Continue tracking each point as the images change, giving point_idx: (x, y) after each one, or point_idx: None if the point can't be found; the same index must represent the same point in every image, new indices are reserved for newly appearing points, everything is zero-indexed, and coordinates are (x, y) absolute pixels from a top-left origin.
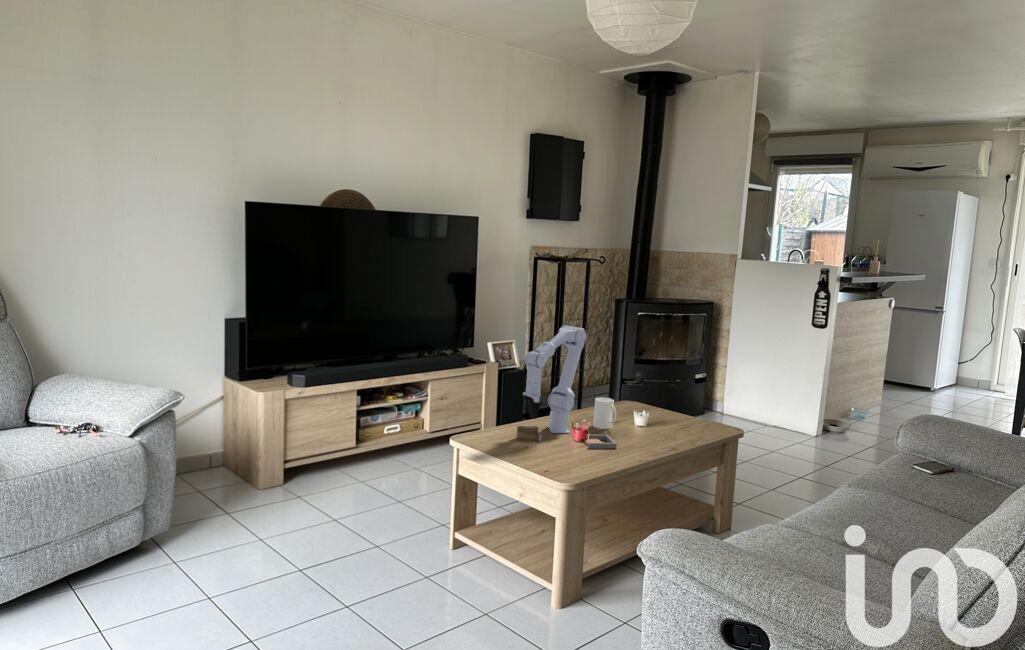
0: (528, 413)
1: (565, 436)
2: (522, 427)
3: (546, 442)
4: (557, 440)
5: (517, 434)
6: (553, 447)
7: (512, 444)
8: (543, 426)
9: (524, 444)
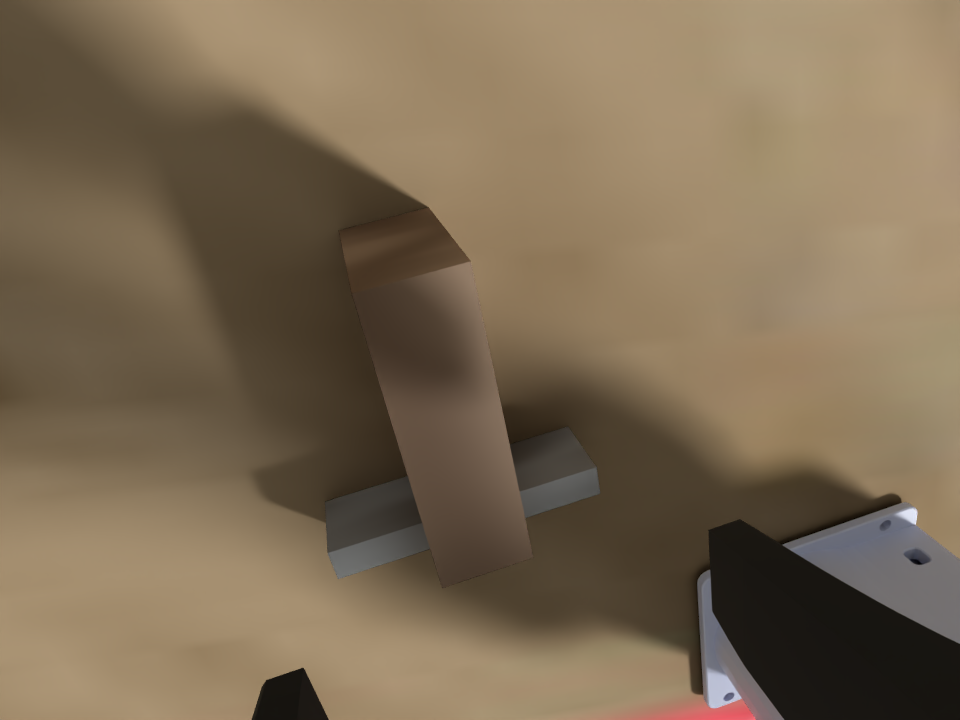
0: (710, 553)
1: (608, 682)
2: (381, 365)
3: None
4: (452, 650)
5: (383, 238)
6: (152, 665)
7: (20, 161)
8: (932, 465)
9: (119, 346)
